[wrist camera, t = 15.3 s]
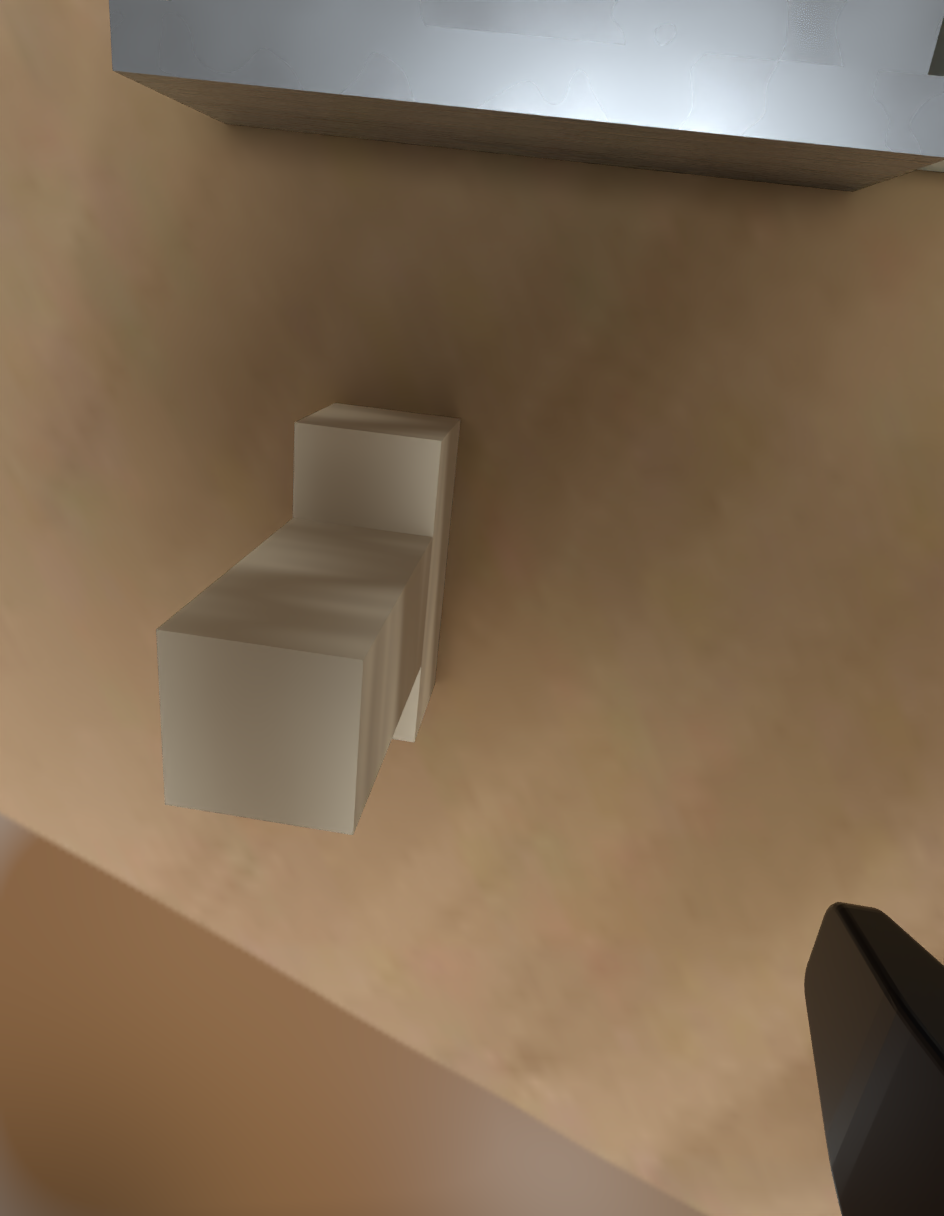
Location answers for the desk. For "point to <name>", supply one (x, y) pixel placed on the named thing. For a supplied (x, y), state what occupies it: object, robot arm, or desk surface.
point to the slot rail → (568, 78)
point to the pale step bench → (316, 630)
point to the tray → (939, 66)
